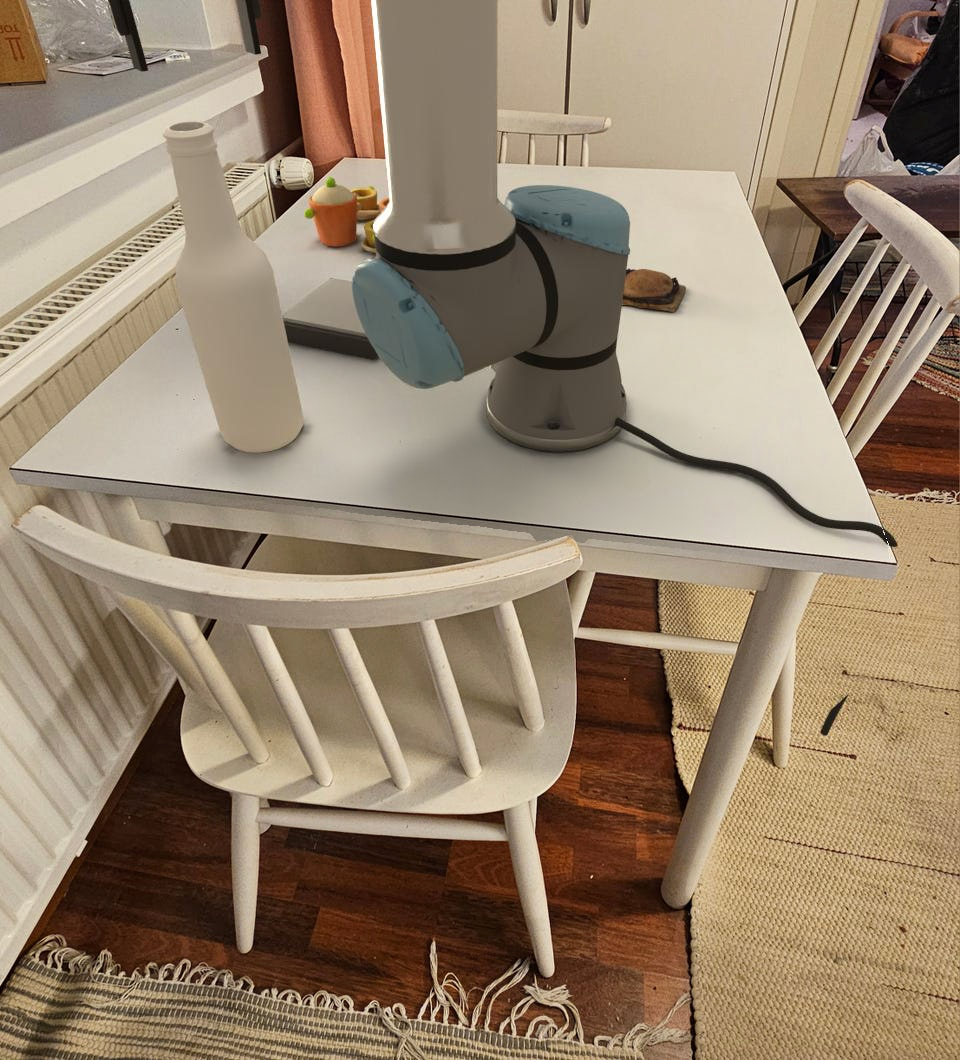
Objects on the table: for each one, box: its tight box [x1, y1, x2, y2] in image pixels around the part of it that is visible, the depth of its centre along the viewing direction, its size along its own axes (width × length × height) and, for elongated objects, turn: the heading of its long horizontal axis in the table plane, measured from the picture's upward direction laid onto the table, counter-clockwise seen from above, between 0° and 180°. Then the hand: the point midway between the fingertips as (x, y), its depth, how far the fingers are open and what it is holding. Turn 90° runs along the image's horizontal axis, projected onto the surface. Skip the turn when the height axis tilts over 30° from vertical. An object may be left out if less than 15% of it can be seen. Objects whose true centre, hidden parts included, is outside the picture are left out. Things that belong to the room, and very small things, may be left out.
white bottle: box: [162, 120, 305, 454], centre depth 71 cm, size 9×9×30 cm
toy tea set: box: [303, 176, 390, 254], centre depth 122 cm, size 26×16×10 cm, turn 168°
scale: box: [282, 277, 380, 361], centre depth 98 cm, size 14×14×3 cm
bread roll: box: [622, 268, 687, 312], centre depth 103 cm, size 11×8×4 cm
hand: (199, 61), depth 87 cm, fingers open, 13 cm apart
